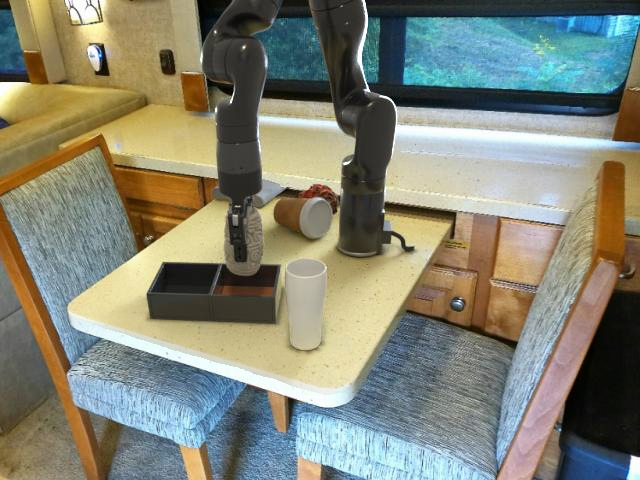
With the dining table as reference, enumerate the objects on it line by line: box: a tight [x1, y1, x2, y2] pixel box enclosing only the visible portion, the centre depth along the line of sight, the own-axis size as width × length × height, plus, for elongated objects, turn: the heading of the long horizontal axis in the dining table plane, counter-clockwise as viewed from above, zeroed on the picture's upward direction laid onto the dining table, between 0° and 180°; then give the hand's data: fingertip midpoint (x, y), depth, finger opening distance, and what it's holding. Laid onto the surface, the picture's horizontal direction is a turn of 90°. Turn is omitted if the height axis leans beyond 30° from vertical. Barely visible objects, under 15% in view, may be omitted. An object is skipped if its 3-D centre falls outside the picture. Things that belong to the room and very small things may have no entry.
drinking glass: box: [284, 257, 328, 351], centre depth 100 cm, size 7×7×15 cm
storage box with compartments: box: [145, 261, 283, 325], centre depth 114 cm, size 24×12×6 cm, turn 82°
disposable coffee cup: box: [272, 197, 334, 240], centre depth 138 cm, size 10×10×12 cm
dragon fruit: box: [296, 183, 340, 216], centre depth 146 cm, size 8×8×12 cm
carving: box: [223, 206, 264, 276], centre depth 108 cm, size 6×8×12 cm
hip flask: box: [211, 179, 288, 209], centre depth 162 cm, size 16×4×20 cm
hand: (243, 251), depth 109 cm, fingers closed on carving, 6 cm apart
